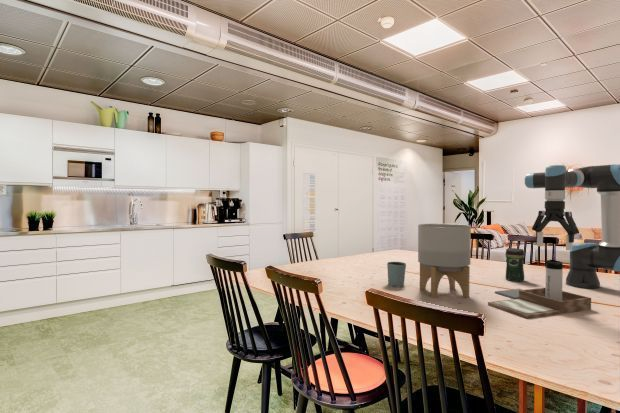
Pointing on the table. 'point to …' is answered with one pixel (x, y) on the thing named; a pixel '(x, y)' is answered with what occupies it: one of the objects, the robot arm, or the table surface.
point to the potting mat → (510, 293)
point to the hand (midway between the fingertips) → (553, 248)
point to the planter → (444, 255)
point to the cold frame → (542, 304)
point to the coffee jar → (514, 264)
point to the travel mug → (554, 280)
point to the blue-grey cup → (396, 273)
